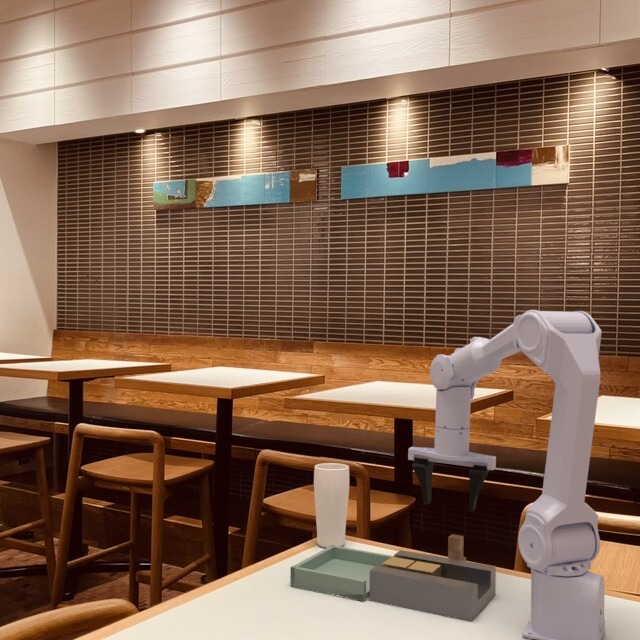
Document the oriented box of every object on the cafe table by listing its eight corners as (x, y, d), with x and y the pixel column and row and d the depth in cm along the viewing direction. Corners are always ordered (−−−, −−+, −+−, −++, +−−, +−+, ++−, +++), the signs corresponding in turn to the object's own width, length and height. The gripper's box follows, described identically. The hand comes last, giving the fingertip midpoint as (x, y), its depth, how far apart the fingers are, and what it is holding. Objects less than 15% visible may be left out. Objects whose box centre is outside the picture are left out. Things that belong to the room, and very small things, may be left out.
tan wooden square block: (415, 576, 118) (415, 560, 118) (405, 584, 114) (405, 567, 114) (391, 572, 120) (392, 556, 120) (381, 579, 116) (381, 563, 116)
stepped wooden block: (466, 571, 127) (466, 533, 127) (456, 580, 122) (456, 540, 122) (454, 569, 128) (455, 532, 128) (444, 578, 123) (445, 539, 123)
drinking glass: (345, 551, 137) (346, 470, 137) (309, 549, 138) (310, 468, 139) (351, 541, 144) (352, 463, 144) (317, 538, 145) (318, 462, 145)
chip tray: (399, 574, 124) (400, 557, 124) (363, 601, 112) (363, 581, 112) (331, 562, 131) (331, 545, 131) (290, 586, 119) (290, 567, 119)
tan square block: (440, 581, 116) (441, 565, 116) (431, 589, 112) (431, 572, 112) (416, 576, 118) (417, 561, 118) (407, 584, 114) (407, 568, 114)
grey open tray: (495, 595, 116) (495, 566, 116) (471, 621, 105) (472, 589, 105) (400, 577, 123) (400, 550, 123) (369, 600, 113) (369, 570, 113)
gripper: (500, 427, 125) (497, 506, 126) (417, 418, 131) (415, 494, 132) (492, 433, 119) (488, 517, 119) (405, 424, 125) (402, 504, 125)
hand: (449, 506), depth 125 cm, fingers open, 7 cm apart
